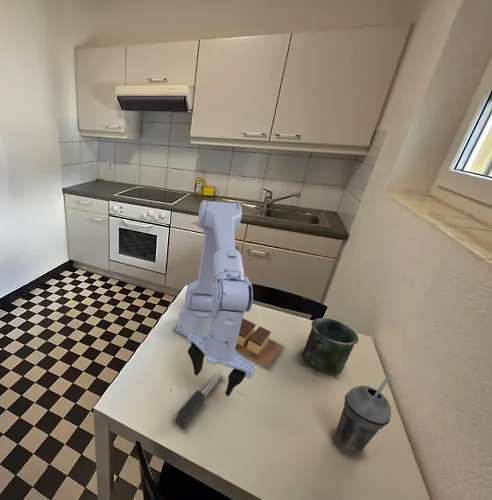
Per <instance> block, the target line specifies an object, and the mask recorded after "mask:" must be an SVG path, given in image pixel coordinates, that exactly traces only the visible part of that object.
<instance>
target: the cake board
mask: <svg viewBox="0 0 492 500" xmlns="http://www.w3.org/2000/svg"><path fill="white" fill-rule="evenodd" d="M253 334H254V333H253ZM248 341H249V340H248ZM248 341H247V342H246V343H245V344H244V346H241V345H239V344H237V343H236V348H235V351H237V352H240V353H243V354H244V356H245V355H246V356H247V357H249V358H251V359H253V360H254V361H256V362H258V363H260V364H262V365H264V366H265V367H267V368H268V367H269V366H270V365H271V363H272V361H273V360H274V359H275V357H276V356H277V354H278V353H279V351H280V349H281V348H282V347H283V346H282V344H279V343H277V342H276V341H274V340H271V339H270V338H269V339H268V342H267V343H266V345H265V346H264V347H263V349H262V350H261V351H260V353H259V354H258V355H257V354H255V353H254V352H252V351H250V350H248V349H247V345H248Z"/></svg>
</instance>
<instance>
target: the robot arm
mask: <svg viewBox="0 0 492 500" xmlns="http://www.w3.org/2000/svg"><path fill="white" fill-rule="evenodd" d="M242 217H243V206H242V205H241V204H240V203H239V202H227V201H213V200H206V199H204V200H202V201H201V202H200V204H199V210H198V216H197V228H199V229H202V230H203V242H202V246H201V247H202V248H201V254H200V262H199V268H198V275H197V279H196V280H194V281H192V282H190V283H188V285H187V288H186V291H185V298H184V304H183V306H182V307H181V309H180V311H179V315H178V323H177V328H175V330H176V331H177V332H179V333H181V334H182V335H184V336H185V337H186V338H187V339H186V343H187V344H188V345H189V348H188V349H187V354H188V356H189V358H190V360H191V362H192V363H191V364H192V368H193V374H194V376H195V377H197V376H199V374H200V373H201V372H202V369H203V367H204V366H203V365H204V361H205V360H206V362H208V363H209V364H211V365H213V366H216V365H217V364H219V365H221V366H225V367H228V368H232V370H231V371H230V373H229V374H228V377H227V378H228V380H227V381H228V382H227V387H226V390H225V392H224V393H225V396H226V397H230V395H231V394H232V392H233V390H234V388H235V387H237V386H238V385H240V384H241V383H242V382H243V380H244V379H245V378H247V379H248V380H251V379H252V377H253V376H254V374H255V370H256V366H255V365H254V364H253V363H251V362H249V361H248V360H247V359H246V358H244V357H243V356H242V355H241V354H240V353H239V351H237V350H236V349H235V348H236V343H237V339H238V335H239V331H240V327H241V323H242V319H244V315H245V312H246V313H249V312H250V311H251V309H252V306H253V301H254V290H253V284H252V282H251V281H249V277H248V276H245V270H244V265H243V264H244V263H243V257H242V254H241V252H240V250H238V249H236V238H235V237H236V234H235V230H237V229H238V227H239V226H240V224H241V221H242ZM205 357H206V358H205ZM204 359H205V360H204Z"/></svg>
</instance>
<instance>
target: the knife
mask: <svg viewBox="0 0 492 500" xmlns="http://www.w3.org/2000/svg"><path fill="white" fill-rule="evenodd" d="M222 372H223V371H222V369H220V370H219V371H218V372H217V374H216V375H214V377H213V378H212V379H211V380H210V381H209V383H208V384H207V385H206V386H205V387H204V388H203V390H202V391H200V390H199V389H197V390H196V391H195V392H194V394H192V396H191V397H189V399H188V400H187V401H186V402H185V404H183V406H182V407H181V408H180V409H179V411H178V412H177V417H176V424H177V425H178V426H180V427H181V428H182V429H183V430H184V429H185V428H186V427H187V426H188V425H189V424H190V422H191V421H192V420H193V418H194V417H195V416H196V415H197V413H198V412H199V411H200V410H201V408H202V407H203V406H204V401H205V398H206V397H207V396H208V394H209V393H210V392H211V391H212V390H213V388H214V387H215V386H216V385H217V383H218V382H219V381H220V380H221V376H222Z"/></svg>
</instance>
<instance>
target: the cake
mask: <svg viewBox="0 0 492 500" xmlns="http://www.w3.org/2000/svg"><path fill="white" fill-rule="evenodd" d="M256 325H257V324H255V323H254V322H252V321H250V320H248V319H245V318H243V319H242V323H241V327H240V331H239V335H238V339H237V344H239V345H241V346H244V344H245V343H246V342H247V341H248V340H249V338H250V337H251V336H252V335H253V333H254V332H255V330H256V329H255V328H256Z"/></svg>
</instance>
